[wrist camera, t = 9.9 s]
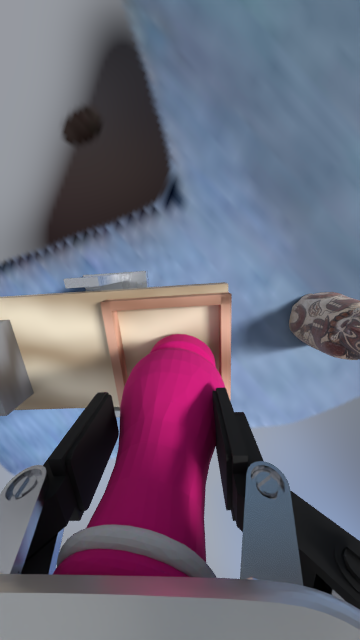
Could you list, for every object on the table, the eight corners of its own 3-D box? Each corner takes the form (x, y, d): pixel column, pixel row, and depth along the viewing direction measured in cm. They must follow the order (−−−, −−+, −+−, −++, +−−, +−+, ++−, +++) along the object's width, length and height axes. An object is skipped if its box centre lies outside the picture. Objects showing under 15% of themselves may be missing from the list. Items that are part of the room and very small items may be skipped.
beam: (-31, 298, 18) (-99, 308, 14) (224, 282, 17) (237, 287, 12) (8, 400, 21) (-38, 434, 17) (224, 393, 20) (235, 428, 16)
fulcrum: (86, 275, 24) (35, 278, 16) (147, 270, 24) (125, 272, 15) (106, 375, 28) (73, 419, 20) (158, 373, 28) (146, 417, 19)
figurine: (318, 279, 23) (450, 290, 12) (355, 312, 24) (512, 353, 12) (277, 322, 25) (356, 369, 13) (314, 351, 26) (417, 419, 14)
